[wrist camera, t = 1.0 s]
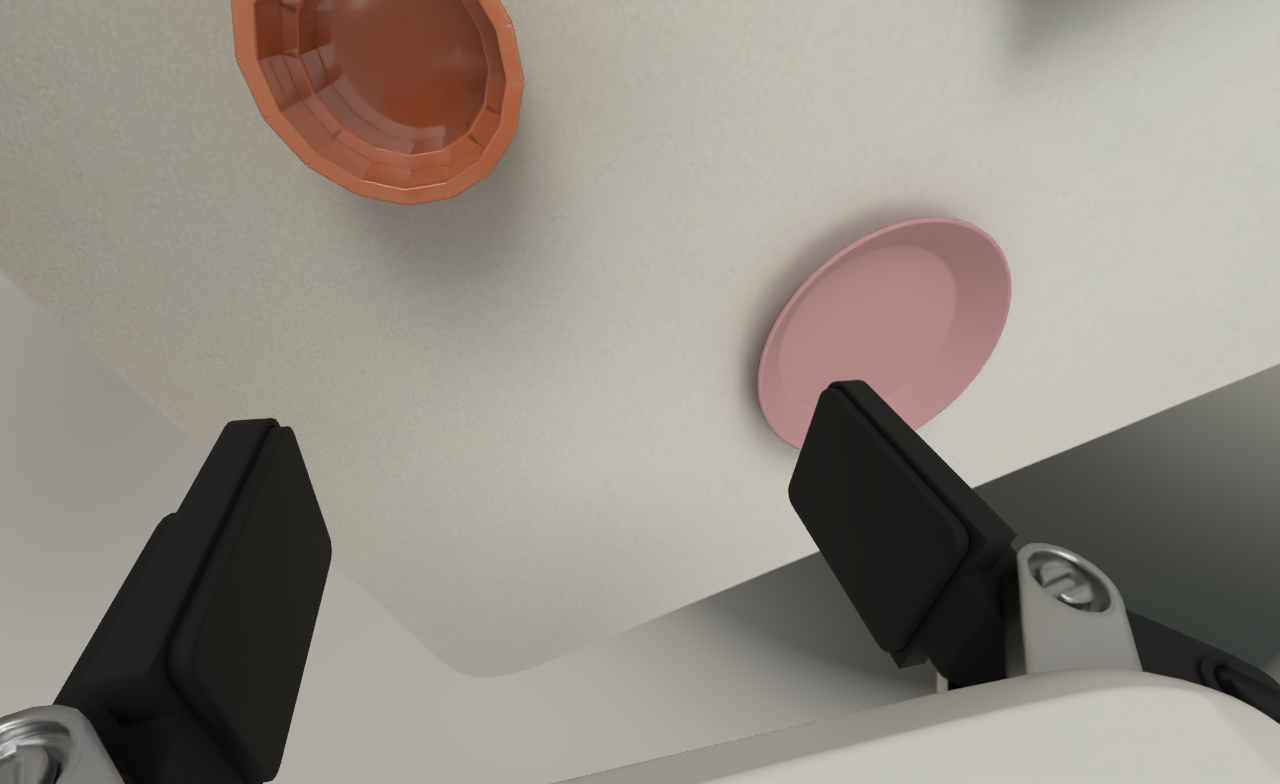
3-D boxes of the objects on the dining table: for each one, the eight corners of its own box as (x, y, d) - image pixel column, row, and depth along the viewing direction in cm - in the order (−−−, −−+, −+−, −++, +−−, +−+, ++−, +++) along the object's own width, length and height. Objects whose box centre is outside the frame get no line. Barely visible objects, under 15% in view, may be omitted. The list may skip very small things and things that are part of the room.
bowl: (232, 2, 17) (158, 7, 13) (417, -137, 16) (399, -177, 12) (397, 199, 21) (380, 247, 17) (551, 96, 20) (569, 122, 16)
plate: (790, 191, 25) (811, 204, 23) (1033, 217, 29) (1065, 230, 27) (716, 438, 33) (728, 461, 31) (915, 431, 37) (934, 451, 35)
